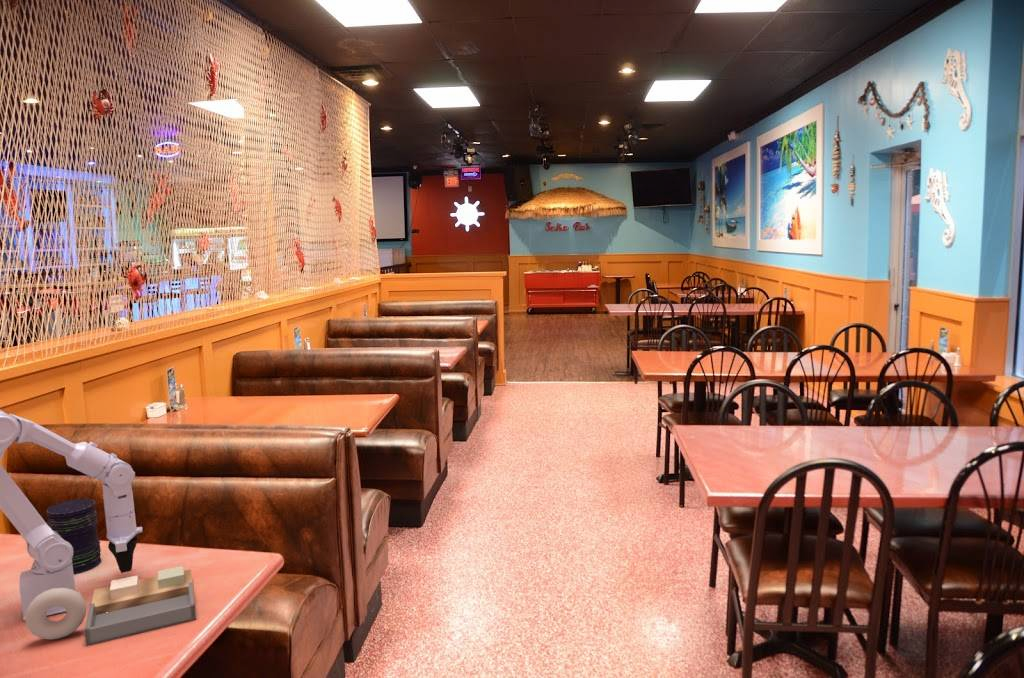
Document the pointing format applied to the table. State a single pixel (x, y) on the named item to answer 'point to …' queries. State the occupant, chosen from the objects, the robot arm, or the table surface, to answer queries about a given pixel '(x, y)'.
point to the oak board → (139, 594)
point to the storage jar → (77, 531)
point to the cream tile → (124, 587)
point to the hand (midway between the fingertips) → (126, 570)
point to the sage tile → (171, 577)
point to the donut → (60, 628)
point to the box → (139, 618)
